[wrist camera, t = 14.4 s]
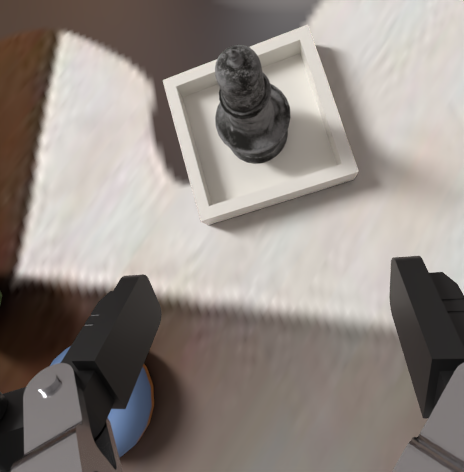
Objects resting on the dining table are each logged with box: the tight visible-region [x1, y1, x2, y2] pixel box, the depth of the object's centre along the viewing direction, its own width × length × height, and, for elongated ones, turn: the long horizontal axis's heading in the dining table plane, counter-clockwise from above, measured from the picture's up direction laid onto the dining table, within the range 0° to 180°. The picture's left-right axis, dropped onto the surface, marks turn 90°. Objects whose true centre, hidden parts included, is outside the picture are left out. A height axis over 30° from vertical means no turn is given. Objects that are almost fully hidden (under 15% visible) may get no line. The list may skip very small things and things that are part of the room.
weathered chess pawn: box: [215, 45, 291, 164], centre depth 25 cm, size 6×6×12 cm
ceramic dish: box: [163, 25, 359, 225], centre depth 30 cm, size 13×13×2 cm
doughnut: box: [50, 346, 154, 458], centre depth 30 cm, size 10×10×5 cm
